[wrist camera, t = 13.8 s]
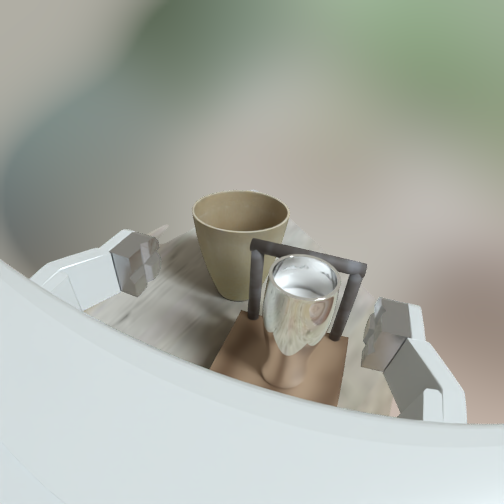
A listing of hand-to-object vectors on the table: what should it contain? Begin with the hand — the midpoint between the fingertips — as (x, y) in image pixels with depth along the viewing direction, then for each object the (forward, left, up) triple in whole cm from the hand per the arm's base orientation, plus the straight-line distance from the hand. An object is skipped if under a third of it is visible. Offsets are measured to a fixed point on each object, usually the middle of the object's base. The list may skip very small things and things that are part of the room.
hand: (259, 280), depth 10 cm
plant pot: (-12, +31, -29) cm, 44 cm away
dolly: (0, +15, -29) cm, 32 cm away
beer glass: (+1, +13, -25) cm, 28 cm away
